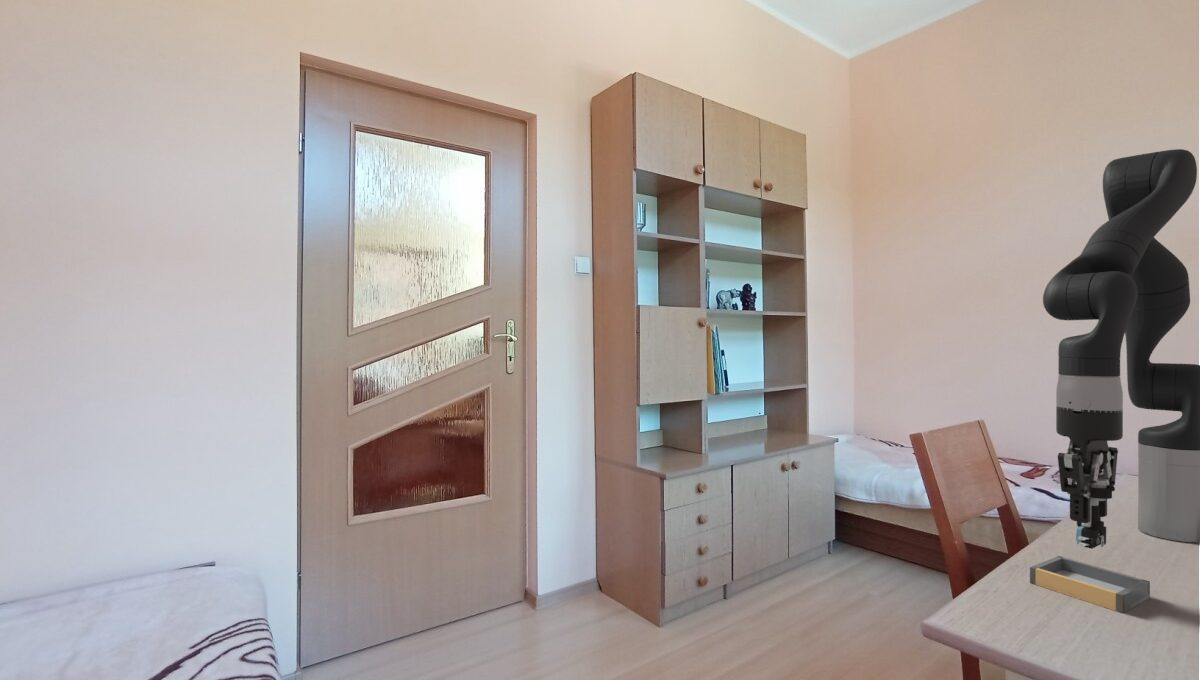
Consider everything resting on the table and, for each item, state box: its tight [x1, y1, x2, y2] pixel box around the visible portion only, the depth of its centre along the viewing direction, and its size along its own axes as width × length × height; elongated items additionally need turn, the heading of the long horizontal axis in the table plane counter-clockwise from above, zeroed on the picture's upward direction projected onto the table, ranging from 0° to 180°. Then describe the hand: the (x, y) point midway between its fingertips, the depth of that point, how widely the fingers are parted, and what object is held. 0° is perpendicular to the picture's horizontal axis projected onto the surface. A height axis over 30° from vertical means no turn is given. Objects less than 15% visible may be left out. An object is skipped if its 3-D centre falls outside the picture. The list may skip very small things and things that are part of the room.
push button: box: [1075, 477, 1116, 550], centre depth 83 cm, size 7×5×10 cm
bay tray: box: [1029, 555, 1151, 614], centre depth 84 cm, size 10×11×2 cm
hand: (1088, 518), depth 84 cm, fingers closed on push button, 5 cm apart
